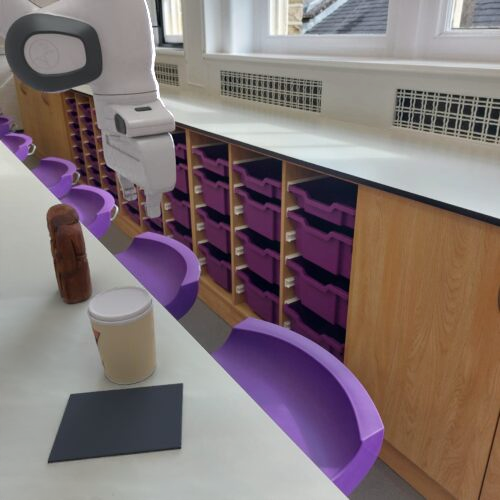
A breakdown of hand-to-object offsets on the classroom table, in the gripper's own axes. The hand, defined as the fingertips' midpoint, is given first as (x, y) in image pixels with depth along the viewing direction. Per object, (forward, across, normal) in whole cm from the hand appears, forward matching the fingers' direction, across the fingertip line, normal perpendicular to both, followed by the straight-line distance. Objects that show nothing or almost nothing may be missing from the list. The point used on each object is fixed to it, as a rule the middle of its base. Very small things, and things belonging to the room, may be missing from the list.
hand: (141, 207), depth 73 cm
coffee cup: (+23, +6, -7) cm, 25 cm away
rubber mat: (+23, +16, -12) cm, 30 cm away
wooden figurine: (+23, -25, -8) cm, 35 cm away
